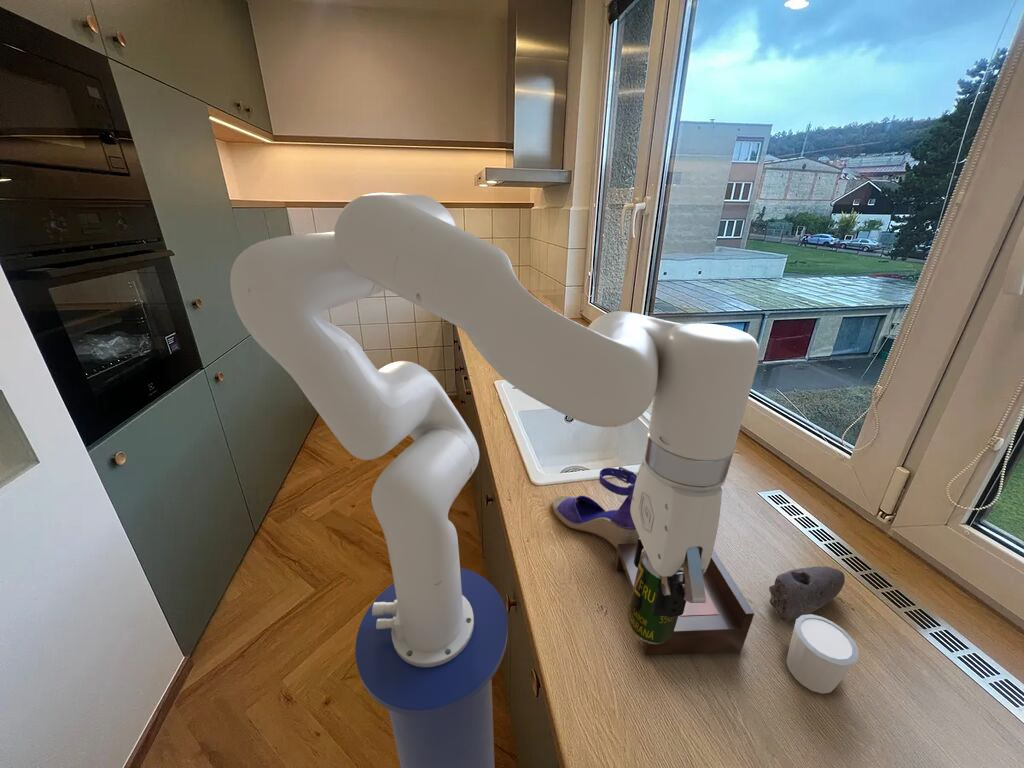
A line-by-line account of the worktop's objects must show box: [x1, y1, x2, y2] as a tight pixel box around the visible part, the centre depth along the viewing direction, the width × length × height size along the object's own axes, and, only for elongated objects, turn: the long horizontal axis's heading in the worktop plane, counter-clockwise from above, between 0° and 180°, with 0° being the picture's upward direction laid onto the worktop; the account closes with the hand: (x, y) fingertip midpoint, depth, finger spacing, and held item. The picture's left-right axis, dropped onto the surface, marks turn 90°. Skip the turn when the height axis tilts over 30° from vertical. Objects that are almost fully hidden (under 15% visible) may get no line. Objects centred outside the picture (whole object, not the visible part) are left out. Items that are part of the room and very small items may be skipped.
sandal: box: [552, 466, 640, 551], centre depth 78 cm, size 8×20×15 cm, turn 33°
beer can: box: [627, 548, 683, 644], centre depth 47 cm, size 5×5×12 cm
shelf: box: [614, 543, 755, 657], centre depth 64 cm, size 14×16×8 cm
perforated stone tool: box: [768, 565, 846, 622], centre depth 64 cm, size 15×5×7 cm, turn 108°
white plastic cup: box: [786, 613, 859, 695], centre depth 55 cm, size 7×7×7 cm
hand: (656, 586), depth 47 cm, fingers closed on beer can, 5 cm apart
